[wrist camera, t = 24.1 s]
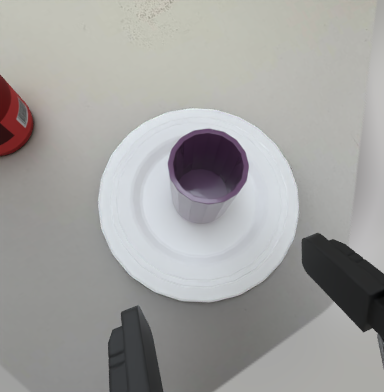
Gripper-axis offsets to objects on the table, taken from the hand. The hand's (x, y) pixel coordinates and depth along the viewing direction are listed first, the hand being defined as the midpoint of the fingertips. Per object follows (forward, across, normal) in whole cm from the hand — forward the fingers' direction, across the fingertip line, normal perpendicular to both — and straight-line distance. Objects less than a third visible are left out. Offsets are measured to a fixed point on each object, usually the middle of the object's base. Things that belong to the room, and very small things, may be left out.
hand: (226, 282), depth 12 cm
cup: (+15, -3, +4) cm, 16 cm away
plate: (+17, -3, +6) cm, 18 cm away
